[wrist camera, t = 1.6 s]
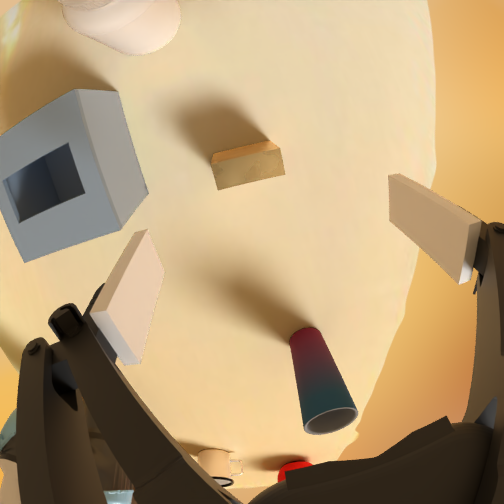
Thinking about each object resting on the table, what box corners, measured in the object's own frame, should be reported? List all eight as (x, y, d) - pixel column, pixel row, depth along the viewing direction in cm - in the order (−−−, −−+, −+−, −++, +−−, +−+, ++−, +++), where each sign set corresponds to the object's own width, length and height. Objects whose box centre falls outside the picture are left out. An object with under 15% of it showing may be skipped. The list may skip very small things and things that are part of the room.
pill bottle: (191, 40, 23) (163, -14, 10) (119, 68, 23) (41, 48, 10) (174, -17, 19) (141, -89, 6) (104, 12, 20) (31, -32, 6)
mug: (198, 459, 64) (198, 487, 56) (193, 447, 59) (192, 478, 52) (242, 458, 65) (244, 486, 57) (241, 446, 60) (244, 477, 52)
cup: (286, 324, 41) (309, 413, 28) (330, 321, 42) (365, 402, 28) (281, 356, 44) (300, 438, 31) (322, 351, 45) (349, 429, 32)
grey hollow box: (65, 222, 31) (24, 263, 22) (34, 134, 25) (-19, 151, 16) (148, 193, 30) (120, 230, 22) (118, 91, 25) (74, 88, 16)
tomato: (287, 455, 66) (294, 496, 54) (326, 454, 70) (336, 492, 58) (264, 472, 73) (269, 508, 61) (300, 471, 76) (307, 505, 64)
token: (219, 174, 30) (217, 190, 25) (213, 153, 29) (210, 164, 24) (274, 161, 30) (285, 174, 25) (269, 140, 29) (280, 148, 24)
